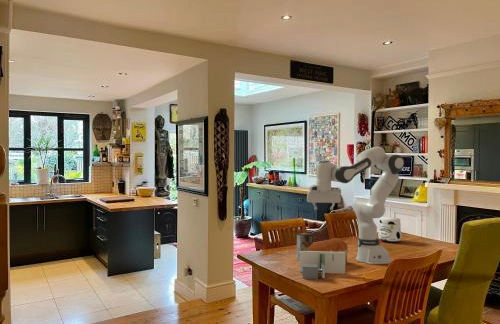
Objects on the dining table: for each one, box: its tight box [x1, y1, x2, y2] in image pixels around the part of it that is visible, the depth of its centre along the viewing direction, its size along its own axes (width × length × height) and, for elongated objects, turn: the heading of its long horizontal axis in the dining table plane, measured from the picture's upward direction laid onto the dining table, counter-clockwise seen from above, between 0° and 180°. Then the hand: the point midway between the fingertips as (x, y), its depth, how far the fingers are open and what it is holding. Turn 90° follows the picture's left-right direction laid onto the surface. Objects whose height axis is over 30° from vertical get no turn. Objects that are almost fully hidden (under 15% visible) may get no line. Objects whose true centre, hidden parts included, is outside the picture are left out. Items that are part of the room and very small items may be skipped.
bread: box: [307, 237, 349, 265], centre depth 229 cm, size 25×12×15 cm, turn 131°
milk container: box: [377, 216, 402, 243], centre depth 294 cm, size 17×17×18 cm
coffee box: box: [296, 232, 314, 260], centre depth 241 cm, size 9×6×16 cm
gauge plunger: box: [302, 254, 326, 279], centre depth 205 cm, size 12×12×10 cm
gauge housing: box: [299, 251, 346, 280], centre depth 206 cm, size 26×12×12 cm, turn 86°
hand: (323, 210), depth 226 cm, fingers open, 8 cm apart
